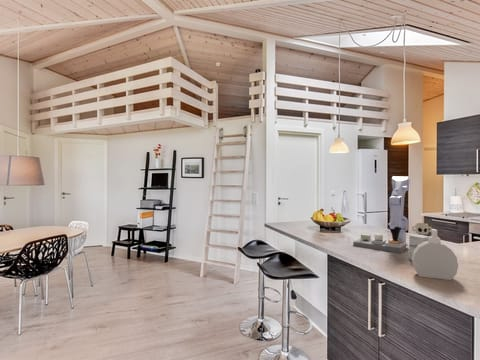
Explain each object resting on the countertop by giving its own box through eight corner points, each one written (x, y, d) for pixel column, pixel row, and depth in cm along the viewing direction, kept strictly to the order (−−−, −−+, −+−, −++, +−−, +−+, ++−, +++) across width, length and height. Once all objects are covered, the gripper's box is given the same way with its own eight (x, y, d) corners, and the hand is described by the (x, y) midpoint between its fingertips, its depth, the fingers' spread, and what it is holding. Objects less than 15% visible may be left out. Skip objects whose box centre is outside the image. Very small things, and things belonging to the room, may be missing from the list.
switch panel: (361, 242, 195) (361, 235, 195) (405, 248, 178) (405, 241, 178) (353, 245, 185) (353, 238, 185) (399, 252, 167) (399, 245, 167)
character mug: (412, 244, 190) (413, 223, 190) (410, 242, 197) (411, 222, 197) (432, 245, 186) (433, 224, 186) (430, 243, 193) (430, 223, 193)
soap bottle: (454, 277, 126) (455, 230, 126) (458, 281, 121) (458, 232, 121) (411, 272, 132) (411, 227, 132) (413, 275, 127) (413, 229, 127)
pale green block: (362, 238, 192) (362, 233, 192) (370, 239, 189) (370, 234, 189) (360, 238, 190) (360, 234, 190) (368, 240, 187) (369, 235, 187)
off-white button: (376, 238, 184) (376, 233, 184) (383, 239, 181) (383, 234, 181) (373, 239, 180) (373, 234, 180) (381, 240, 177) (381, 235, 177)
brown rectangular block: (393, 242, 180) (393, 237, 180) (402, 244, 177) (402, 239, 177) (388, 245, 173) (388, 240, 173) (397, 246, 170) (397, 241, 170)
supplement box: (408, 259, 154) (408, 235, 154) (417, 257, 157) (418, 233, 157) (422, 263, 147) (422, 237, 147) (431, 261, 150) (432, 236, 150)
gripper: (391, 215, 183) (391, 237, 183) (384, 217, 172) (384, 240, 172) (404, 216, 178) (404, 238, 179) (397, 218, 168) (397, 242, 168)
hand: (395, 239), depth 175 cm, fingers closed, pressing on brown rectangular block
